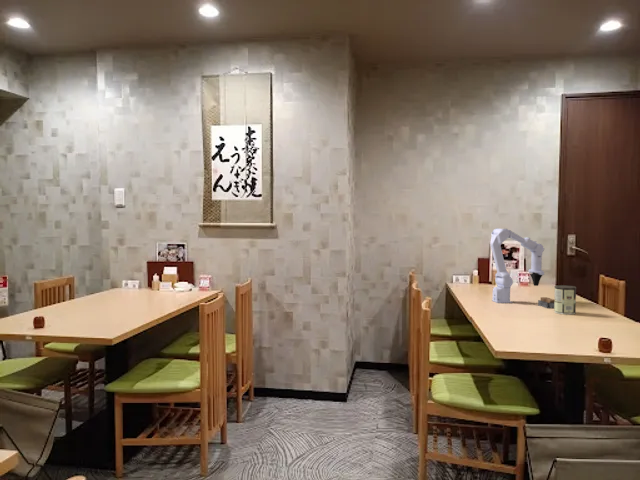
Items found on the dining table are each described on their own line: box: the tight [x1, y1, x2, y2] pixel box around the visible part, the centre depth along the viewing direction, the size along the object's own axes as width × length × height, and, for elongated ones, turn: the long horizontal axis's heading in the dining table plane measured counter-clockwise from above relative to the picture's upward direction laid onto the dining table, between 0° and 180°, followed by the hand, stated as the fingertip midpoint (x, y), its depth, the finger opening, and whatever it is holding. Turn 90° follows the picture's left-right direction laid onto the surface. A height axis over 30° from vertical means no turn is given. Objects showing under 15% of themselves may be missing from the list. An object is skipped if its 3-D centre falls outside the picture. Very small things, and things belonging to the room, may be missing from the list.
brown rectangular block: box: [540, 296, 555, 303], centre depth 272 cm, size 10×4×4 cm, turn 4°
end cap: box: [537, 299, 555, 309], centre depth 270 cm, size 9×9×3 cm
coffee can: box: [553, 284, 577, 316], centre depth 252 cm, size 10×10×14 cm
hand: (535, 285), depth 289 cm, fingers closed
